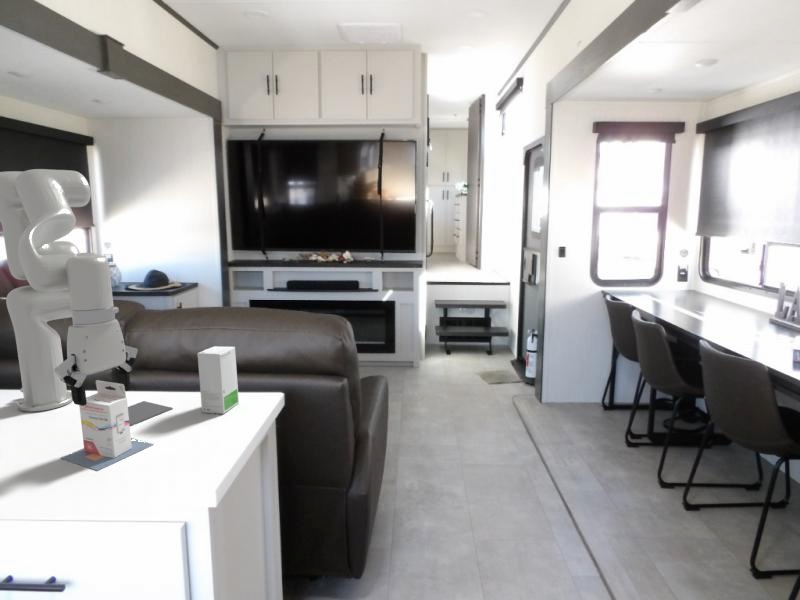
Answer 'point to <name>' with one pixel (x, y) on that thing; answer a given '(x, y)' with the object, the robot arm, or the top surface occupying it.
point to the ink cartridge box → (106, 421)
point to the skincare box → (218, 379)
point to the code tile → (101, 461)
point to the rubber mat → (145, 411)
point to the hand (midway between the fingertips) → (103, 396)
